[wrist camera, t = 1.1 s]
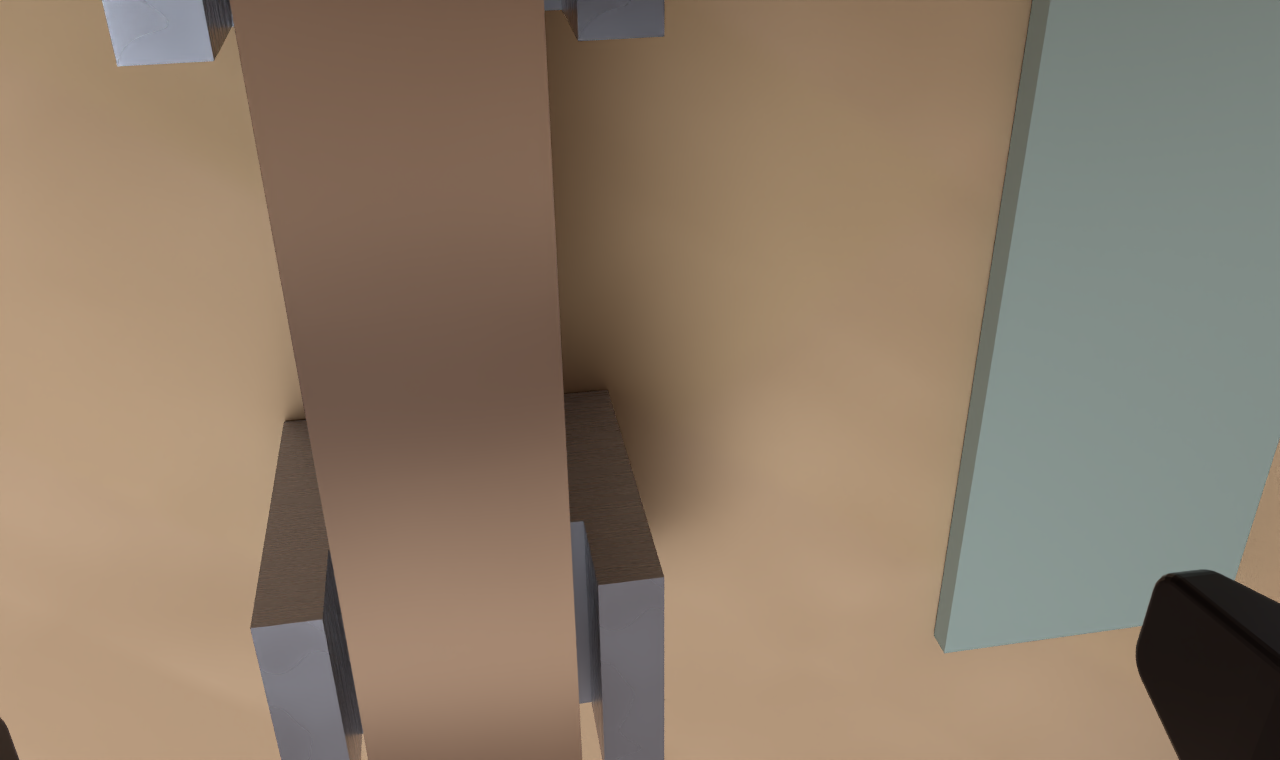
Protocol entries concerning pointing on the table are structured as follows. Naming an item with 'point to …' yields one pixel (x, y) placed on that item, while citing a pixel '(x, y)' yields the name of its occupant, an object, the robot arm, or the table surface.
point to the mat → (1123, 321)
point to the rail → (428, 355)
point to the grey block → (602, 581)
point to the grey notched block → (201, 19)
